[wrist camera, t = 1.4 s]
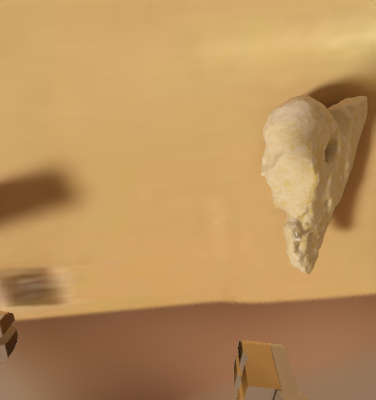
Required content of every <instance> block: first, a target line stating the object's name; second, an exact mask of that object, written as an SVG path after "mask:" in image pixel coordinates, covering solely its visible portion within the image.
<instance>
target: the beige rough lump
mask: <svg viewBox="0 0 376 400" xmlns="http://www.w3.org/2000/svg"><path fill="white" fill-rule="evenodd" d="M367 100H368V98H367V97H366V96H357V97H352V98H346V99H343V100H342V101H340V102H339V103H338V104H335V105H332V106H331V107H329V108H326V107H325V106H324V105H323V104H322V103H321V102H319V101H317V100H315V99H313V98H312V97H310V96H309V95H303V96H297V97H294V98H291V99H290V100H288V101H287V102H285V103H284V104H282V105H281V106H279V107H277V108H275V109H274V110H273V111H272V112H271V113H270V114H269V116H268V119H267V121H266V123H265V125H264V129H263V138H264V140H265V143H266V148H265V151H264V154H263V159H262V169H261V176H262V177H265V178H266V181H267V183H268V185H269V186H270V188H271V191H272V197H273V202H274V204H275V206H276V207H277V208H279V209H282V210H284V211H285V212H286V215H287V220H286V223H285V225H284V227H283V234H284V237H285V239H286V247H287V250H286V252H287V255H288V256H289V260H290V263H291V265H294V266H295V267H296V268H298V269H300V270H301V271H302V272H303V273H305V274H310V272H311V271H312V270H313V268H314V264H315V262H316V260H317V258H318V251H319V249H320V247H321V244H322V241H323V238H324V234H325V232H326V229H327V227H328V225H329V223H330V220H331V218H332V215H333V212H334V209H335V207H336V206H337V205H338V204H339V203H340V200H341V198H342V196H343V193H344V189H345V186H346V184H347V181H348V178H349V174H350V172H351V170H352V167H353V163H354V159H355V155H356V150H357V146H358V143H359V140H360V137H361V133H362V131H363V127H364V124H365V122H366V118H367V112H368V107H367Z"/></svg>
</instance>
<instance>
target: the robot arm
mask: <svg viewBox="0 0 376 400" xmlns="http://www.w3.org/2000/svg"><path fill="white" fill-rule="evenodd" d="M14 321H15V318H14V315H13V313H9V312H2V311H0V363H1V362H3V361H4V360H6V359H8V358H9V356H10V355H11V353H12V352H13V350H14V348H15V346H16V343H17V339H18V332H17V329H16V328H15V327H14V326H13V325H12V324H13V322H14ZM234 387H235V388H236V390H237V391H238V393H237V397H236V400H309V399H308V398H307V397H306V396H305V395H304V394H302V393H299V391H298V388H297V385H296V381H295V378H294V375H293V371H292V368H291V365H290V361H289V358H288V355H287V352H286V348H285V347H284V346H283V345H279V344H270V343H263V342H253V341H245V340H240V341H239V344H238V355H237V356H236V357H235V362H234Z"/></svg>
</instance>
